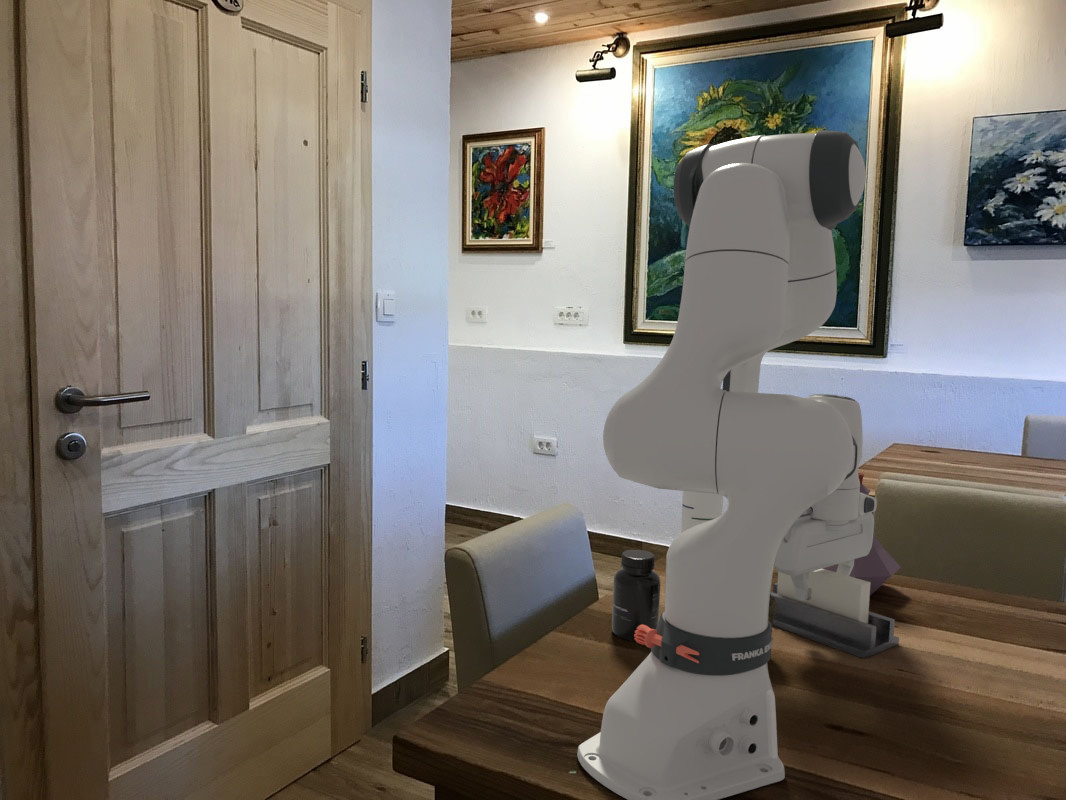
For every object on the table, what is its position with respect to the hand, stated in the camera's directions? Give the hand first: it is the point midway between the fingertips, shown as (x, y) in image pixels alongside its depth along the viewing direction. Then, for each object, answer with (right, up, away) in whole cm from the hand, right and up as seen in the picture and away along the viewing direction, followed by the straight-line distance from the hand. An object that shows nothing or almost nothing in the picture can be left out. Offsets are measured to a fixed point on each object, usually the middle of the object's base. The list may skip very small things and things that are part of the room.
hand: (821, 593), depth 129 cm
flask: (+12, -4, +21) cm, 24 cm away
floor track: (0, -6, +1) cm, 6 cm away
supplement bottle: (-28, -6, -2) cm, 29 cm away
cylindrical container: (-13, -3, +27) cm, 30 cm away
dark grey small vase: (-13, -7, -8) cm, 17 cm away
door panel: (0, -5, +1) cm, 5 cm away
